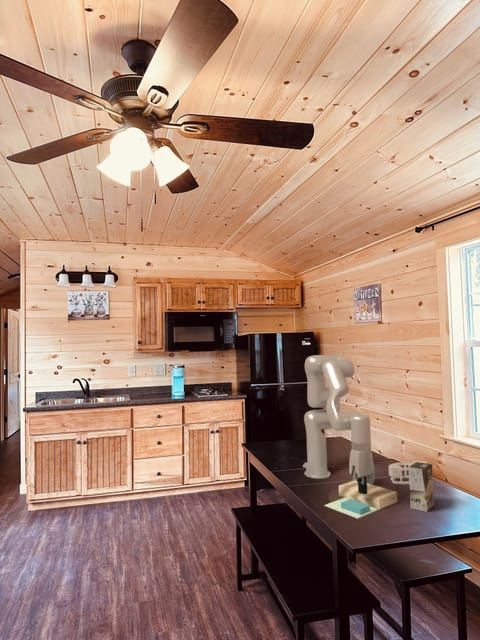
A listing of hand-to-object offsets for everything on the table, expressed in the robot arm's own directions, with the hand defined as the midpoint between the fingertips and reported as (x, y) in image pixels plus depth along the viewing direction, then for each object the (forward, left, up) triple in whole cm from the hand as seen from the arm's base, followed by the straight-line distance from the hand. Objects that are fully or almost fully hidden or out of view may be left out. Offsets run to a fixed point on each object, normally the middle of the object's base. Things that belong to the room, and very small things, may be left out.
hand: (362, 493), depth 168 cm
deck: (-4, +8, -5) cm, 10 cm away
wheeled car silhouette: (-6, +43, -6) cm, 44 cm away
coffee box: (+15, +17, -5) cm, 23 cm away
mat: (-2, -5, -5) cm, 8 cm away
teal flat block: (0, -6, -3) cm, 6 cm away
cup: (-15, +22, -5) cm, 27 cm away
